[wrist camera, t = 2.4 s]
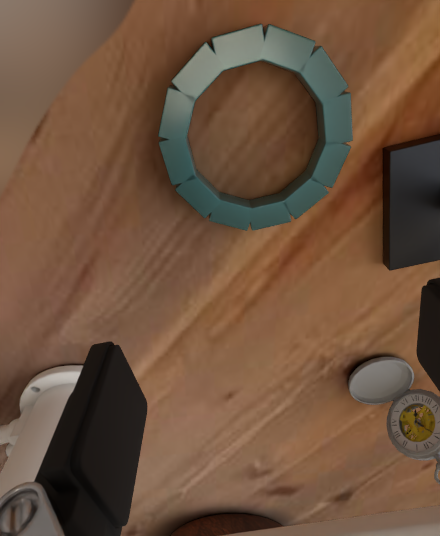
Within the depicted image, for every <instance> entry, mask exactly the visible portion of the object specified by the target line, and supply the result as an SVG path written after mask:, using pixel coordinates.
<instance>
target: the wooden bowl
mask: <svg viewBox="0 0 440 536" xmlns="http://www.w3.org/2000/svg"><path fill="white" fill-rule="evenodd" d="M278 527H283V526H282V525H280V524H279V523H277V522H275V521H273V520H270V519H267V518H264V517H260V516H255V515H248V514H221V515H213V516H208V517H204V518H200V519H197V520H194V521H191V522H189V523H187V524H185V525H183V526H181V527H180V528H178V529H177V530H176V531H174V532H173V533H172V534H171V535H170V536H222V535H229V534H235V533H242V532H249V531H256V530H263V529H270V528H278Z"/></svg>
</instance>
